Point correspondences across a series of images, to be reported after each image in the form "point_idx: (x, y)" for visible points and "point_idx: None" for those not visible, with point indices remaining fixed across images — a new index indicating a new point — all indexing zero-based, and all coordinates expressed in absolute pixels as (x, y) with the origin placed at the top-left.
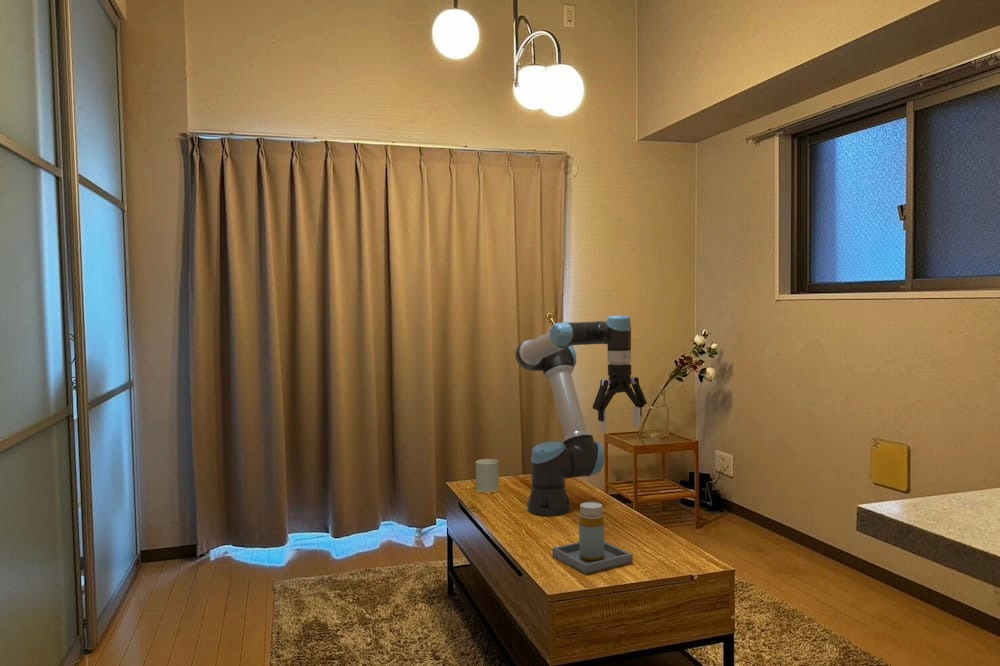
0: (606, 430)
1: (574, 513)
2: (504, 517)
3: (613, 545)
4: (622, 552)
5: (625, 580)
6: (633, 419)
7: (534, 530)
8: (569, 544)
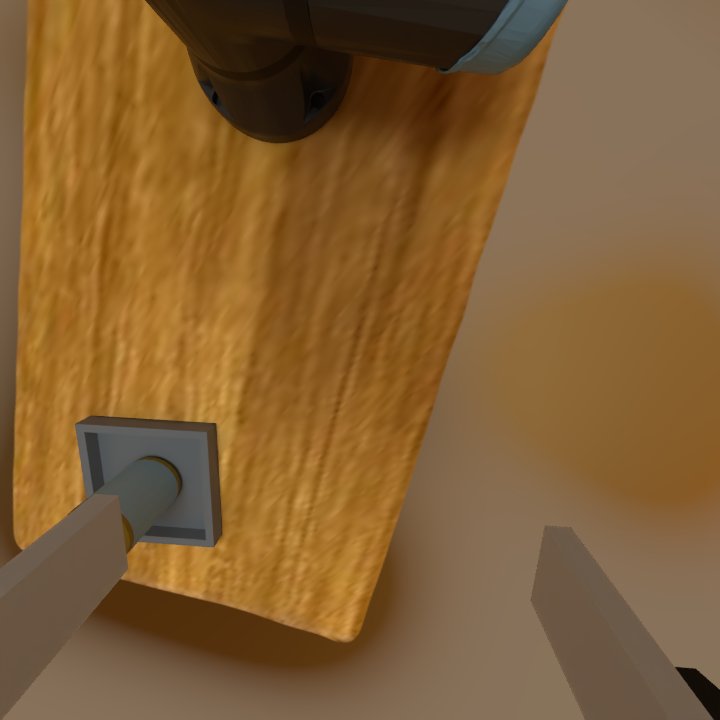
0: (112, 578)
1: (327, 152)
2: (100, 43)
3: (210, 489)
4: (205, 524)
5: (160, 579)
6: (585, 601)
7: (133, 227)
8: (122, 428)
